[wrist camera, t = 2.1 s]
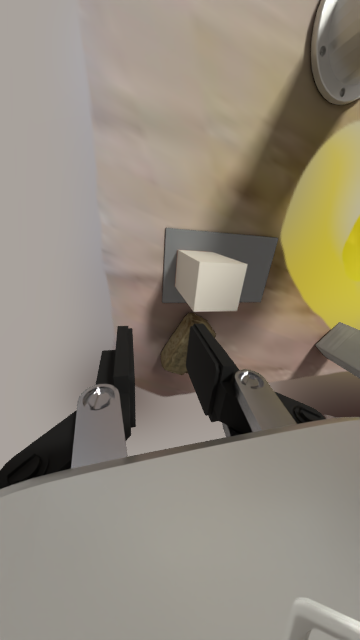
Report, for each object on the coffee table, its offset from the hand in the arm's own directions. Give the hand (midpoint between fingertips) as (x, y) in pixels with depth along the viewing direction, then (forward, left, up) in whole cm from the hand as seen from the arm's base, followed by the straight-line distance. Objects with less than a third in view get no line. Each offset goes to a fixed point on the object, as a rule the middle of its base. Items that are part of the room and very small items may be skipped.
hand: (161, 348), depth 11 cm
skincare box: (+16, +48, -23) cm, 56 cm away
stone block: (+14, +9, -24) cm, 29 cm away
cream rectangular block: (0, +9, -23) cm, 25 cm away
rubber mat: (0, +14, -23) cm, 27 cm away
